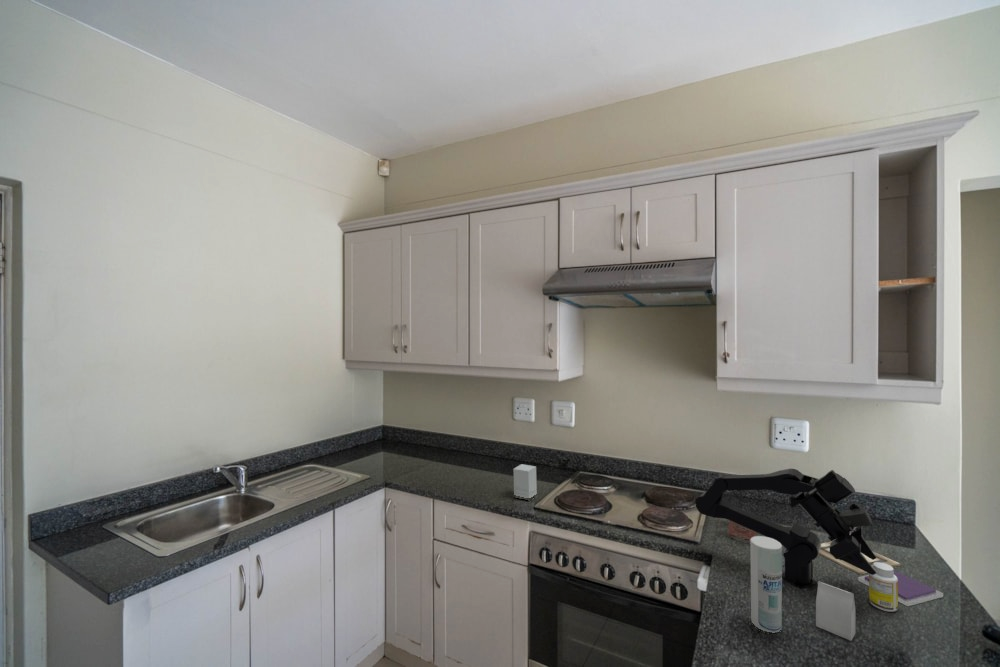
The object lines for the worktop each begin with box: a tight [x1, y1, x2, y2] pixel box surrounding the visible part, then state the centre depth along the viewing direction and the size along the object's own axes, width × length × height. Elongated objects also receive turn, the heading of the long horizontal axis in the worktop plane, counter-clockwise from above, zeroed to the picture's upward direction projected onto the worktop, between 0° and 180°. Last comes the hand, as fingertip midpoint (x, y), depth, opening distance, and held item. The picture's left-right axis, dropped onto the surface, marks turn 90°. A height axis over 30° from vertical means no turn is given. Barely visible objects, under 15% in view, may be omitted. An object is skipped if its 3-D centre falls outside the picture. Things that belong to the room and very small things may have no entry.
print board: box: [818, 540, 901, 576], centre depth 138 cm, size 16×16×1 cm
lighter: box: [728, 508, 756, 544], centre depth 150 cm, size 8×3×10 cm, turn 47°
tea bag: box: [815, 581, 856, 642], centre depth 106 cm, size 4×7×10 cm, turn 40°
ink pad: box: [857, 570, 944, 607], centre depth 121 cm, size 13×12×2 cm
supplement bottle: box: [868, 562, 899, 613], centre depth 114 cm, size 6×6×10 cm
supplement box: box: [512, 463, 538, 498], centre depth 189 cm, size 7×7×13 cm
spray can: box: [749, 535, 783, 633], centre depth 107 cm, size 6×6×20 cm
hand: (874, 566), depth 115 cm, fingers open, 9 cm apart
